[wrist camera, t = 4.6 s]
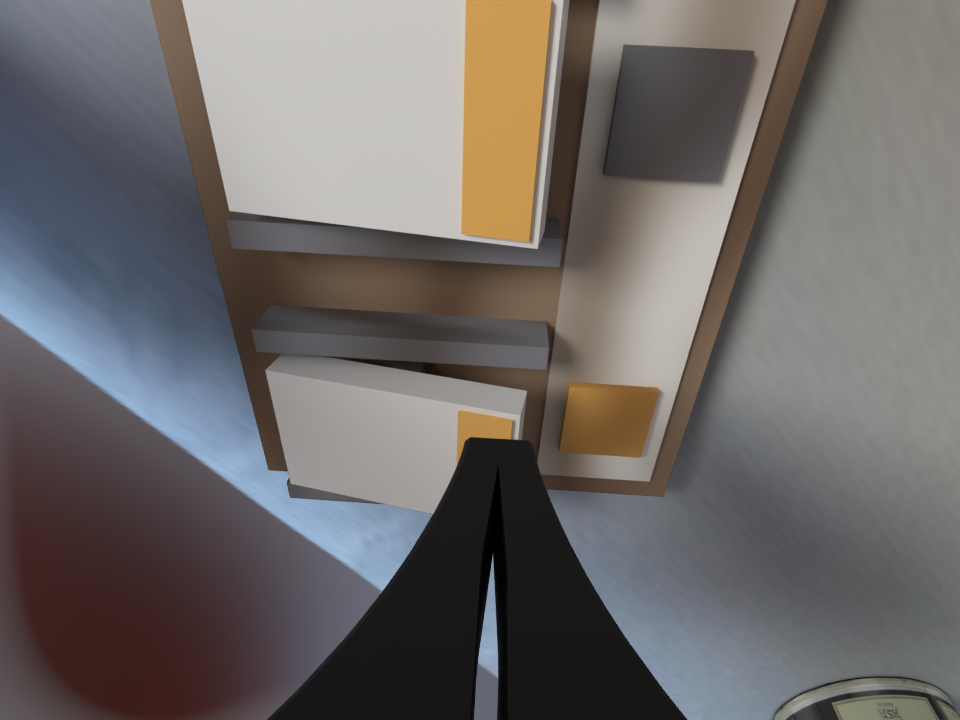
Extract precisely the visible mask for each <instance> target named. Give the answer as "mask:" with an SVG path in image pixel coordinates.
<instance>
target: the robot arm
mask: <svg viewBox="0 0 960 720" xmlns="http://www.w3.org/2000/svg"><path fill="white" fill-rule="evenodd" d="M492 556H493V558H494V579H495V600H496V620H497V641H498V711H497V720H687V719H686V718H685V716H684V715H683V714H682V712H681V711H680V710H679V709H678V707H677V706H676V705H675V704H674V702H673V701H672V700H671V699H670V697H669V696H668V695H667V694H666V692H665V691H664V690H663V689H662V687H661V686H660V684H659V683H658V682H657V680H656V679H655V678H654V676H653V675H652V673H651V672H650V671H649V669H648V668H647V667H646V665H645V664H644V662H643V661H642V660H641V658H640V657H639V656H638V654H637V653H636V651H635V650H634V649H633V647H632V646H631V644H630V643H629V642H628V640H627V639H626V637H625V636H624V635H623V633H622V632H621V630H620V628H619V627H618V625H617V624H616V622H615V621H614V619H613V618H612V616H611V615H610V613H609V612H608V610H607V608H606V607H605V605H604V604H603V602H602V600H601V599H600V597H599V595H598V594H597V592H596V590H595V589H594V587H593V585H592V584H591V582H590V580H589V578H588V577H587V575H586V573H585V571H584V569H583V568H582V566H581V564H580V562H579V560H578V558H577V556H576V554H575V552H574V550H573V548H572V547H571V545H570V543H569V541H568V539H567V536H566V534H565V532H564V530H563V528H562V526H561V524H560V521H559V519H558V517H557V515H556V512H555V510H554V508H553V505H552V503H551V501H550V498H549V496H548V493H547V491H546V488H545V485H544V482H543V480H542V477H541V474H540V471H539V468H538V464H537V461H536V457H535V453H534V448H533V444H531V443H530V442H529V441H528V440H513V439H495V438H478V437H470V438H468V439H467V440H466V441H465V443H464V447H463V451H462V453H461V456H460V459H459V462H458V464H457V467H456V469H455V472H454V474H453V476H452V478H451V480H450V483H449V485H448V487H447V489H446V491H445V493H444V495H443V496H442V498H441V500H440V502H439V504H438V506H437V508H436V510H435V512H434V514H433V515H432V517H431V519H430V521H429V522H428V524H427V526H426V527H425V529H424V530H423V532H422V534H421V535H420V537H419V539H418V540H417V542H416V544H415V545H414V547H413V549H412V550H411V552H410V553H409V555H408V556H407V558H406V559H405V561H404V562H403V564H402V565H401V567H400V568H399V569H398V571H397V572H396V574H395V575H394V576H393V578H392V579H391V581H390V582H389V583H388V585H387V586H386V588H385V589H384V590H383V592H382V593H381V594H380V595H379V597H378V598H377V599H376V601H375V602H374V603H373V604H372V606H371V607H370V608H369V609H368V611H367V612H366V613H365V615H364V616H363V617H362V618H361V620H360V621H359V622H358V623H357V625H356V626H355V627H354V628H353V629H352V630H351V632H350V633H349V634H348V635H347V636H346V637H345V639H344V640H343V641H342V642H341V643H340V644H339V645H338V646H337V648H336V649H335V650H334V651H333V652H332V653H331V654H330V655H329V656H328V657H327V659H326V660H325V661H324V662H323V663H322V664H321V665H320V666H319V668H317V670H316V671H315V672H314V673H313V674H312V675H311V676H310V678H308V679H307V680H306V681H305V683H304V684H303V685H302V686H301V687H300V688H299V689H298V690H297V691H296V692H295V693H294V694H293V695H292V696H291V697H290V698H289V699H288V700H287V701H286V702H285V703H284V704H283V705H282V706H280V707H279V708H278V709H277V710H276V711H275V712H274V713H273V714H272V715H271V716H270V717H269V718H268V719H267V720H474V707H475V690H476V674H477V665H478V656H479V648H480V641H481V634H482V627H483V620H484V613H485V606H486V598H487V591H488V584H489V577H490V570H491V563H492Z"/></svg>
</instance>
